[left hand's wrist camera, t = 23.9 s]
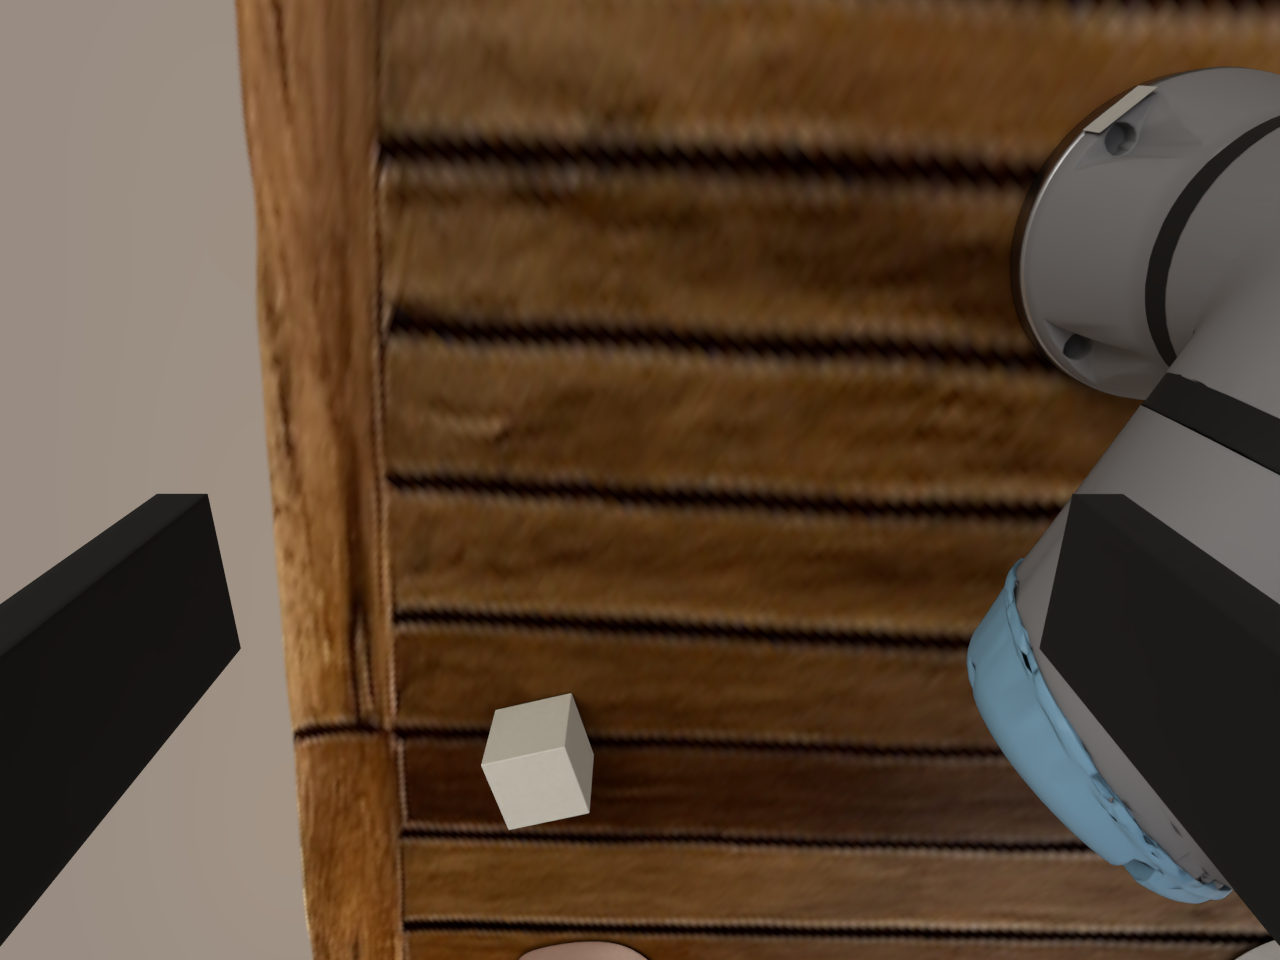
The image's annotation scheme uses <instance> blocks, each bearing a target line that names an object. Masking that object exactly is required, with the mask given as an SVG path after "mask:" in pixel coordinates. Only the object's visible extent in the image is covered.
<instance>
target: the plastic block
mask: <svg viewBox="0 0 1280 960" xmlns="http://www.w3.org/2000/svg"><path fill="white" fill-rule="evenodd" d="M593 759H594V754H593V751H592V748H591V746H590V743H589V740H588V737H587V735H586V732H585V729H584V726H583V723H582V721H581V718H580V715H579V712H578V710H577V707H576V704H575V701H574V698H573V696H572V694H571V693H569V694H565V695H560V696H556V697H552V698H547V699H543V700H538V701H534V702H529V703H525V704H520V705H516V706H511V707H507V708H503V709H498V710H496V711H495V714H494V718H493V722H492V726H491V730H490V733H489V737H488V741H487V745H486V749H485V753H484V756H483V760H482V764H481V766H482V768H483V771H484V773H485V775H486V778H487V780H488V782H489V785H490V787H491V789H492V792H493V794H494V796H495V799H496V801H497V803H498V806H499V808H500V811H501V813H502V815H503V818H504V820H505V822H506V825H507V827H508V829H509V830H511V829H516V828H521V827H525V826H530V825H535V824H540V823H544V822H549V821H554V820H559V819H564V818H568V817H573V816H578V815H583V814H587V813H589V811H590V798H591V785H592V772H593Z"/></svg>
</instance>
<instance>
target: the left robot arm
mask: <svg viewBox="0 0 1280 960" xmlns="http://www.w3.org/2000/svg"><path fill="white" fill-rule="evenodd" d="M1010 277H1011V288H1012V294H1013V299H1014V304H1015V307H1016V310H1017V314H1018V316H1019V319H1020V321H1021V323H1022V326H1023V328H1024V330H1025V332H1026V333H1027V335H1028V337H1029V339H1030V340H1031V341H1032V343H1033V344H1034V346H1035V347H1036V348H1037V350H1038V351H1039V352H1040V353H1041V354H1042V355H1043V356H1044V357H1045V358H1046V359H1047V360H1048V361H1049V362H1050V363H1051V364H1053V365H1054V366H1055V367H1056V368H1058V369H1059V370H1061V371H1062V372H1064V373H1065V374H1067V375H1068V376H1070V377H1072V378H1074V379H1076V380H1078V381H1080V382H1082V383H1084V384H1086V385H1088V386H1090V387H1092V388H1094V389H1097V390H1099V391H1102V392H1105V393H1108V394H1112V395H1116V396H1120V397H1127V398H1133V399H1140V400H1145V402H1144V403H1143V404H1142V405H1143V406H1141V405H1140V406H1139V408H1138V409H1137V410H1136V412H1135V413H1134V414H1133V416H1132V417H1131V418H1130V420H1129V421H1128V422H1127V424H1126V425H1125V426H1124V428H1123V429H1122V430H1121V432H1120V433H1119V434H1118V436H1117V437H1116V438H1115V440H1114V441H1113V442H1112V444H1111V445H1110V446H1109V448H1108V449H1107V450H1106V452H1105V453H1104V454H1103V456H1102V457H1101V458H1100V460H1099V461H1098V462H1097V464H1096V465H1095V466H1094V468H1093V469H1092V470H1091V472H1090V473H1089V474H1088V476H1087V477H1086V478H1085V480H1084V481H1083V482H1082V484H1081V485H1080V486H1079V488H1078V489H1077V490H1076V492H1075V493H1074V494H1072V497H1071V498H1070V500H1069V501H1068V502H1067V504H1066V505H1065V506H1064V508H1063V509H1062V510H1061V512H1060V513H1059V514H1058V516H1057V517H1056V518H1055V520H1054V521H1053V522H1052V524H1051V525H1050V526H1049V528H1048V529H1047V530H1046V532H1045V533H1044V534H1043V536H1042V537H1041V538H1040V539H1039V541H1038V542H1037V543H1036V544H1035V546H1034V547H1033V548H1032V550H1031V551H1030V552H1029V553H1028V555H1027V556H1026V557H1025V558H1021V559H1019V560H1018V561H1017V562H1016V563H1015V564H1014V566H1013V567H1012V568H1011V570H1010V571H1009V572H1008V575H1007V578H1006V582H1005V586H1004V588H1003V589H1002V591H1001V592H1000V594H999V596H998V597H997V599H996V600H995V602H994V603H993V605H992V606H991V608H990V609H989V611H988V613H987V614H986V616H985V617H984V619H983V620H982V621H981V623H980V624H979V626H978V627H977V629H976V630H975V632H974V634H973V636H972V638H971V641H970V644H969V648H968V653H967V669H968V675H969V681H970V684H971V686H972V688H973V696H974V699H975V702H976V705H977V707H978V710H979V712H980V714H981V716H982V718H983V720H984V722H985V724H986V726H987V727H988V729H989V731H990V733H991V734H992V736H993V738H994V739H995V741H996V743H997V744H998V746H999V747H1000V749H1001V750H1002V752H1003V753H1004V754H1005V756H1006V757H1007V759H1008V760H1009V762H1010V763H1011V764H1012V766H1013V767H1014V768H1015V769H1016V771H1017V772H1018V773H1019V775H1020V776H1021V777H1022V778H1023V780H1024V781H1025V782H1026V783H1027V784H1028V786H1029V787H1030V788H1031V789H1032V790H1033V791H1034V793H1035V794H1036V795H1037V796H1038V797H1039V798H1040V800H1041V801H1042V802H1043V803H1044V804H1045V805H1046V806H1047V807H1048V808H1049V809H1050V810H1051V811H1052V812H1053V813H1054V815H1055V816H1056V817H1057V818H1058V819H1059V820H1060V821H1061V822H1062V823H1063V824H1064V825H1065V826H1066V827H1067V828H1068V829H1069V830H1070V831H1072V832H1073V833H1074V834H1075V835H1076V836H1077V837H1078V838H1079V839H1080V840H1081V841H1083V842H1084V843H1085V844H1086V845H1087V846H1088V847H1089V848H1091V849H1092V850H1093V851H1094V852H1096V853H1097V854H1098V855H1099V856H1101V857H1102V858H1103V859H1105V860H1106V861H1107V862H1109V863H1110V864H1112V865H1123V866H1124V867H1125V868H1126V870H1127V871H1128V872H1129V873H1130V874H1131V876H1132V877H1133V878H1134V879H1135V880H1136V882H1137V883H1139V884H1140V885H1142V886H1144V887H1146V888H1147V889H1149V890H1151V891H1153V892H1155V893H1157V894H1159V895H1161V896H1163V897H1166V898H1169V899H1172V900H1175V901H1179V902H1186V903H1194V904H1196V903H1202V902H1205V901H1208V900H1210V899H1212V900H1220V899H1223V898H1224V897H1226V896H1227V895H1228V894H1230V893H1231V891H1232V890H1234V891H1235V892H1236V893H1237V894H1238V895H1239V897H1240V898H1241V899H1242V900H1243V902H1244V903H1245V904H1246V905H1247V906H1248V908H1249V909H1250V910H1251V911H1252V913H1253V914H1254V915H1255V916H1256V918H1257V919H1258V920H1259V921H1260V923H1261V924H1262V925H1263V926H1264V928H1265V929H1266V930H1267V931H1268V933H1269V934H1270V935H1271V936H1272V937H1273V939H1274V940H1275V941H1276V942H1277V944H1278V945H1279V946H1280V75H1278V74H1275V73H1271V72H1266V71H1261V70H1255V69H1249V68H1242V67H1213V68H1205V69H1198V70H1192V71H1185V72H1179V73H1173V74H1169V75H1165V76H1162V77H1158V78H1155V79H1152V80H1149V81H1147V82H1144V83H1141V84H1139V85H1137V86H1135V87H1132V88H1130V89H1128V90H1126V91H1124V92H1122V93H1121V94H1119V95H1117V96H1115V97H1114V98H1112V99H1110V100H1109V101H1107V102H1106V103H1104V104H1103V105H1102V106H1100V107H1099V108H1097V109H1096V110H1094V111H1093V112H1092V113H1091V114H1090V115H1088V116H1087V117H1086V118H1085V119H1084V120H1082V121H1081V122H1080V123H1079V124H1078V125H1077V126H1076V127H1075V128H1074V129H1073V130H1072V131H1071V132H1070V133H1069V134H1068V135H1067V136H1066V137H1065V138H1064V139H1063V140H1062V141H1061V143H1060V144H1059V145H1058V146H1057V147H1056V148H1055V150H1054V151H1053V152H1052V154H1051V155H1050V156H1049V158H1048V159H1047V161H1046V162H1045V163H1044V165H1043V166H1042V168H1041V170H1040V171H1039V173H1038V175H1037V176H1036V178H1035V180H1034V182H1033V183H1032V185H1031V187H1030V189H1029V191H1028V193H1027V196H1026V198H1025V201H1024V203H1023V205H1022V208H1021V210H1020V214H1019V217H1018V220H1017V223H1016V227H1015V232H1014V236H1013V241H1012V249H1011V257H1010ZM240 649H241V647H240V643H239V638H238V634H237V629H236V624H235V620H234V615H233V610H232V606H231V601H230V596H229V592H228V587H227V582H226V578H225V573H224V568H223V564H222V559H221V554H220V550H219V545H218V540H217V536H216V531H215V526H214V522H213V517H212V512H211V508H210V503H209V498H208V494H156V495H155V496H153V497H152V498H151V499H149V500H148V501H146V502H145V503H143V504H142V505H141V506H139V507H138V508H136V509H135V510H134V511H132V512H131V513H129V514H128V515H126V516H125V517H124V518H122V519H121V520H119V521H118V522H116V523H115V524H114V525H112V526H111V527H109V528H108V529H107V530H105V531H104V532H102V533H101V534H99V535H98V536H97V537H95V538H94V539H92V540H91V541H89V542H88V543H87V544H85V545H84V546H82V547H81V548H80V549H78V550H77V551H75V552H74V553H73V554H71V555H70V556H68V557H67V558H65V559H64V560H62V561H61V562H60V563H58V564H57V565H55V566H54V567H53V568H51V569H50V570H48V571H47V572H45V573H44V574H43V575H41V576H40V577H38V578H37V579H36V580H34V581H33V582H31V583H30V584H28V585H27V586H26V587H24V588H23V589H21V590H20V591H18V592H17V593H16V594H14V595H13V596H11V597H10V598H9V599H7V600H6V601H4V602H3V603H1V604H0V946H1V945H2V944H3V942H4V941H5V940H6V939H7V937H8V936H9V935H10V934H11V933H12V931H13V930H14V929H15V928H16V926H17V925H18V924H19V923H20V921H21V920H22V919H23V918H24V916H25V915H26V914H27V913H28V911H29V910H30V909H31V908H32V906H33V905H34V904H35V903H36V902H37V900H38V899H39V898H40V896H41V895H42V894H43V893H44V892H45V890H46V889H47V888H48V887H49V885H50V884H51V883H52V882H53V880H54V879H55V878H56V877H57V876H58V874H59V873H60V872H61V871H62V869H63V868H64V867H65V866H66V864H67V863H68V862H69V861H70V859H71V858H72V857H73V856H74V854H75V853H76V852H77V851H78V850H79V848H80V847H81V846H82V845H83V843H84V842H85V841H86V840H87V838H88V837H89V836H90V835H91V833H92V832H93V831H94V830H95V828H96V827H97V826H98V825H99V823H100V822H101V821H102V820H103V819H104V817H105V816H106V815H107V814H108V812H109V811H110V810H111V809H112V807H113V806H114V805H115V804H116V802H117V801H118V800H119V799H120V797H121V796H122V795H123V794H124V793H125V791H126V790H127V789H128V788H129V786H130V785H131V784H132V783H133V781H134V780H135V779H136V778H137V776H138V775H139V774H140V773H141V771H142V770H143V769H144V768H145V767H146V765H147V764H148V763H149V761H150V760H151V759H152V758H153V757H154V755H155V754H156V753H157V752H158V750H159V749H160V748H161V747H162V745H163V744H164V743H165V742H166V740H167V739H168V738H169V737H170V736H171V734H172V733H173V732H174V731H175V729H176V728H177V727H178V726H179V724H180V723H181V722H182V721H183V719H184V718H185V717H186V716H187V714H188V713H189V712H190V711H191V709H192V708H193V707H194V706H195V705H196V703H197V702H198V701H199V700H200V698H201V697H202V696H203V695H204V693H205V692H206V691H207V690H208V688H209V687H210V686H211V685H212V683H213V682H214V681H215V680H216V679H217V677H218V676H219V675H220V674H221V672H222V671H223V670H224V669H225V667H226V666H227V665H228V664H229V662H230V661H231V660H232V659H233V657H234V656H235V655H236V654H237V653H238V651H239V650H240Z"/></svg>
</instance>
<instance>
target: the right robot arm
mask: <svg viewBox="0 0 1280 960" xmlns="http://www.w3.org/2000/svg"><path fill="white" fill-rule="evenodd" d="M1235 960H1280V946H1279V945H1278V944H1277V942H1276V941H1275V940H1273V941H1271V942H1268V943H1265V944H1263V945H1261V946H1258V947H1256V948H1254V949H1252V950H1250V951H1248V952H1246V953H1245V954H1243V955H1241V956H1240V957H1238V958H1236V959H1235Z"/></svg>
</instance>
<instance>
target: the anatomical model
mask: <svg viewBox="0 0 1280 960" xmlns="http://www.w3.org/2000/svg"><path fill="white" fill-rule="evenodd" d="M519 960H647V959H646V958H645V957H643V956H642V955H640V954H639V953H637V952H635V951H634V950H632V949H630V948H628V947H625V946H622V945H619V944H615V943H610V942H597V941H587V942H573V943H566V944H559V945H553V946H548V947H544V948H540V949H536V950H533V951H530V952H528V953H526V954H525V955H523V956H522V957H521V958H520V959H519Z"/></svg>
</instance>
